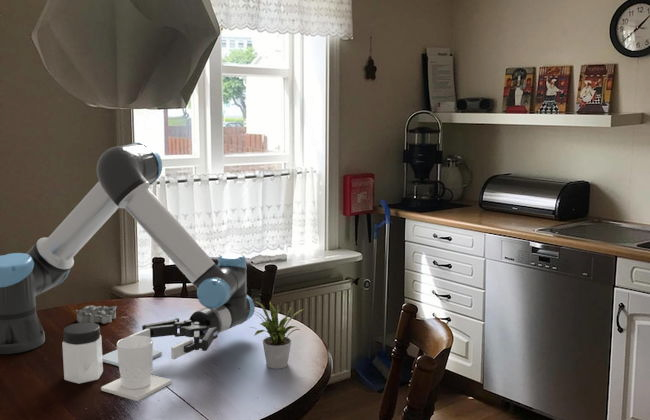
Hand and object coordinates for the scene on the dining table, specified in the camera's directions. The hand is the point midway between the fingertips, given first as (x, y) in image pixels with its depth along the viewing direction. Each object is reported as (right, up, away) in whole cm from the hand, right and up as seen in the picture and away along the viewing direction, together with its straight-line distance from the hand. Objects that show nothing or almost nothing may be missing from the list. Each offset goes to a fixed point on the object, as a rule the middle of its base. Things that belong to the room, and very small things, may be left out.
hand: (150, 347), depth 162 cm
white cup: (-3, -8, -2) cm, 9 cm away
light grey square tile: (-9, -6, +15) cm, 18 cm away
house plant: (+27, -7, +12) cm, 30 cm away
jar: (-17, -8, +4) cm, 19 cm away
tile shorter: (-3, -9, -2) cm, 9 cm away
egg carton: (-27, -1, +44) cm, 51 cm away
